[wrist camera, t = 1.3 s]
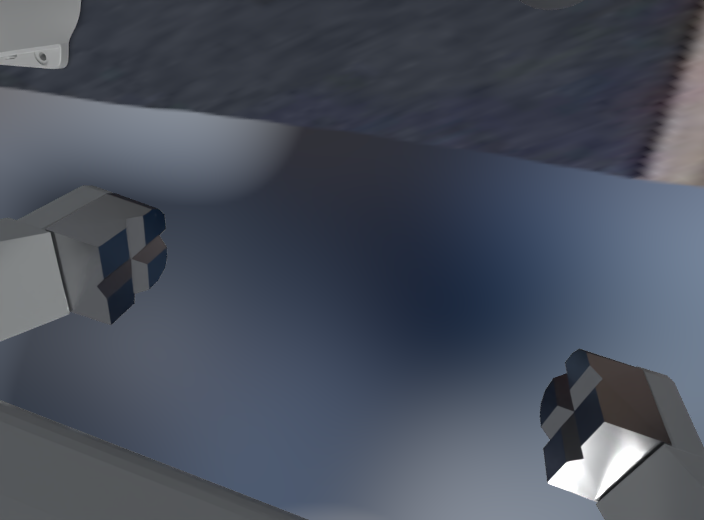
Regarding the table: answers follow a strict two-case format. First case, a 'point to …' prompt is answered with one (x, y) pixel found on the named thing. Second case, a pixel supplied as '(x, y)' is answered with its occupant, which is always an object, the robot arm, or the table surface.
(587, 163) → the table surface
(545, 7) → the plastic bottle
